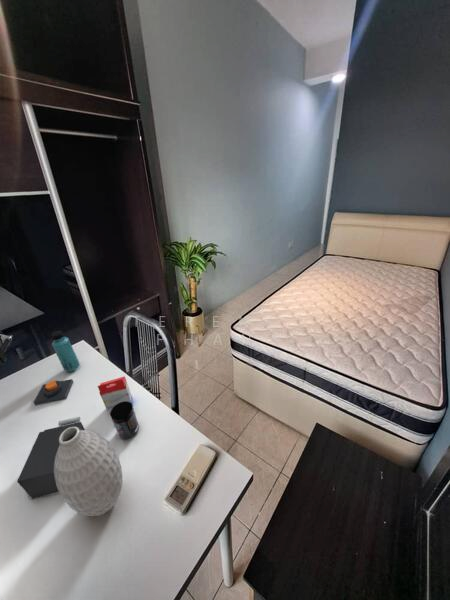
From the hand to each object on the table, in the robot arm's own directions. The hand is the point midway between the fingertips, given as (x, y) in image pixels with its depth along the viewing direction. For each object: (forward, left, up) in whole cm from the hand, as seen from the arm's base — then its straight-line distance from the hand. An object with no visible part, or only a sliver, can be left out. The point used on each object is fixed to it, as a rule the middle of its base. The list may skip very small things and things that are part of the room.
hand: (2, 362), depth 81 cm
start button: (+6, +6, -20) cm, 22 cm away
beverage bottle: (+9, +19, -23) cm, 31 cm away
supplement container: (+37, -19, -23) cm, 48 cm away
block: (+6, +6, -23) cm, 25 cm away
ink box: (+33, -8, -23) cm, 41 cm away
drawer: (+19, -22, -22) cm, 37 cm away
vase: (+33, -38, -23) cm, 55 cm away
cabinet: (+19, -26, -23) cm, 40 cm away
